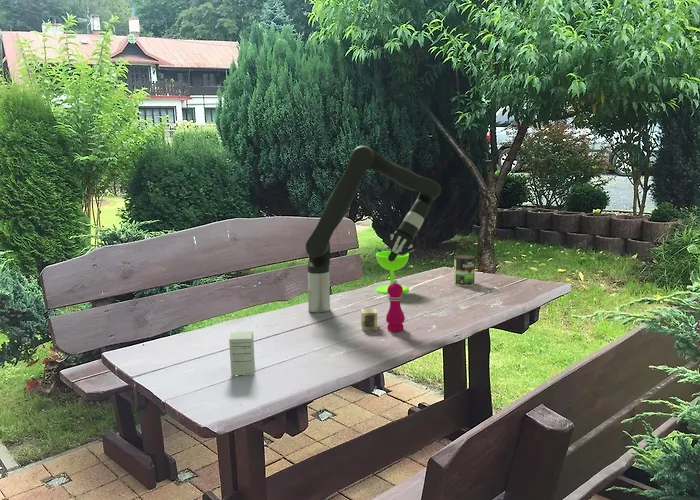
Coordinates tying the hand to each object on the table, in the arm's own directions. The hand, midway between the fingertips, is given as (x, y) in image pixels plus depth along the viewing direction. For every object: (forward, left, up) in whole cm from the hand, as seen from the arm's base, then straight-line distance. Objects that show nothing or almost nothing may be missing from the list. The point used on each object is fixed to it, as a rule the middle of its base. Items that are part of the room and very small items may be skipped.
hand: (389, 260), depth 250 cm
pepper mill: (+1, -14, -25) cm, 28 cm away
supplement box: (-53, -53, -25) cm, 79 cm away
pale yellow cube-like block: (-9, -11, -24) cm, 28 cm away
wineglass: (+6, +45, -25) cm, 52 cm away
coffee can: (+43, +54, -25) cm, 73 cm away
